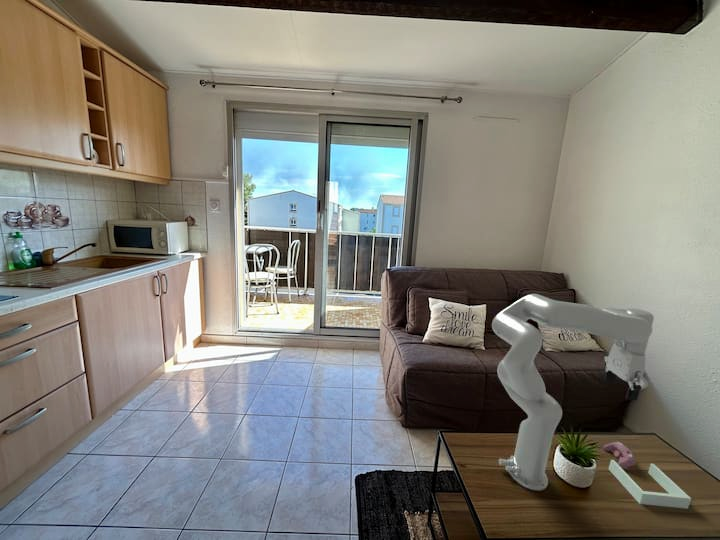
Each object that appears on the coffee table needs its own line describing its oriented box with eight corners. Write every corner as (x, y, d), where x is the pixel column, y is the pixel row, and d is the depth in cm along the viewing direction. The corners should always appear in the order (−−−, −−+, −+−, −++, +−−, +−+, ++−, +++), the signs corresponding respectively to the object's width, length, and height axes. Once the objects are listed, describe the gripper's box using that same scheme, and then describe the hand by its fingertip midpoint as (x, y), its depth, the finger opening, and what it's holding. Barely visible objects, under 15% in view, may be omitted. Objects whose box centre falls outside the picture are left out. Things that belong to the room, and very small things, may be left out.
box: (639, 503, 95) (642, 493, 94) (608, 468, 107) (611, 459, 106) (687, 508, 94) (691, 498, 93) (650, 473, 107) (653, 463, 106)
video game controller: (627, 474, 107) (642, 462, 106) (616, 467, 108) (630, 454, 106) (610, 453, 117) (623, 441, 115) (600, 446, 117) (613, 435, 115)
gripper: (600, 333, 107) (591, 375, 111) (640, 357, 90) (628, 406, 94) (622, 335, 107) (612, 377, 110) (666, 359, 90) (653, 407, 93)
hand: (619, 390), depth 102 cm, fingers open, 9 cm apart
